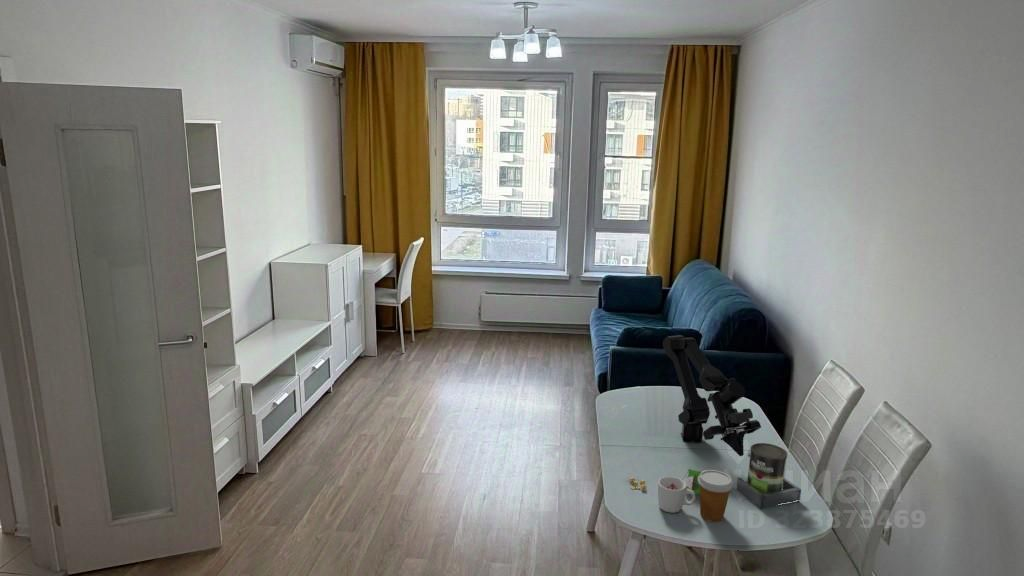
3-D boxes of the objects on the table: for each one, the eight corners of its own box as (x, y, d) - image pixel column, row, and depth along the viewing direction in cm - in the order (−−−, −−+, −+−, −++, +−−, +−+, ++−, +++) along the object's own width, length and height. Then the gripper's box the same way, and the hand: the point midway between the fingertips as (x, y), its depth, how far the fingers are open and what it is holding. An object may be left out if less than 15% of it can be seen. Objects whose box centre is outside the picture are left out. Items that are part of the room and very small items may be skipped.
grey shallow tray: (736, 489, 204) (737, 477, 203) (773, 483, 208) (775, 471, 207) (760, 509, 193) (762, 496, 193) (799, 501, 198) (801, 489, 197)
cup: (695, 505, 194) (697, 481, 192) (693, 520, 187) (695, 494, 185) (657, 498, 198) (659, 474, 196) (654, 512, 190) (656, 487, 189)
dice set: (630, 482, 208) (630, 477, 207) (646, 485, 206) (647, 479, 206) (628, 490, 203) (628, 485, 202) (645, 493, 202) (645, 487, 201)
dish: (750, 459, 223) (751, 451, 222) (745, 450, 230) (746, 441, 229) (772, 461, 222) (773, 452, 222) (766, 451, 229) (767, 443, 228)
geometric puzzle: (686, 474, 208) (684, 462, 202) (708, 479, 205) (707, 467, 199) (681, 495, 204) (679, 483, 198) (704, 501, 201) (703, 489, 195)
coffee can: (773, 506, 195) (778, 462, 192) (740, 492, 202) (744, 450, 199) (787, 493, 202) (793, 450, 199) (754, 480, 209) (759, 439, 206)
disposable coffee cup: (735, 523, 186) (740, 484, 183) (704, 526, 184) (708, 487, 181) (718, 505, 195) (722, 467, 192) (688, 508, 193) (692, 470, 190)
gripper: (712, 403, 209) (730, 451, 202) (761, 397, 215) (780, 443, 208) (695, 415, 218) (712, 462, 211) (742, 409, 224) (760, 454, 217)
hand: (741, 455), depth 211 cm, fingers closed
